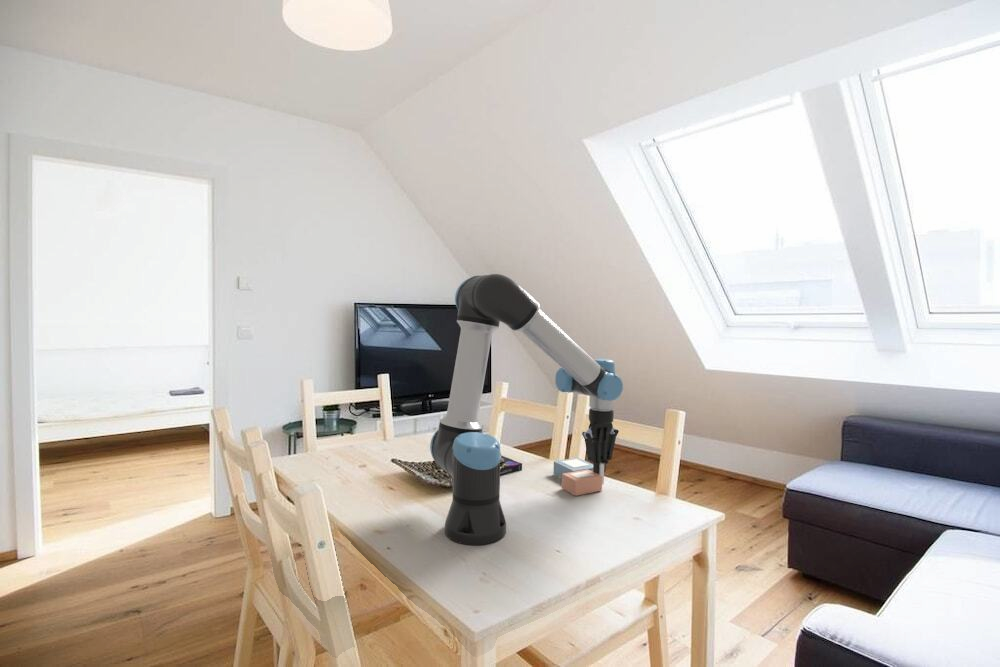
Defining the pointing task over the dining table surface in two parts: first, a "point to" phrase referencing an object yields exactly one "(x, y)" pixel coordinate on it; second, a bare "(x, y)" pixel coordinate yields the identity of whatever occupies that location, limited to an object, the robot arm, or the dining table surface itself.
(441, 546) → the dining table surface
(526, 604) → the dining table surface
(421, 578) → the dining table surface
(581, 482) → the white-topped pink block
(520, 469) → the box
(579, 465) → the white-topped blue block
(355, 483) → the dining table surface
